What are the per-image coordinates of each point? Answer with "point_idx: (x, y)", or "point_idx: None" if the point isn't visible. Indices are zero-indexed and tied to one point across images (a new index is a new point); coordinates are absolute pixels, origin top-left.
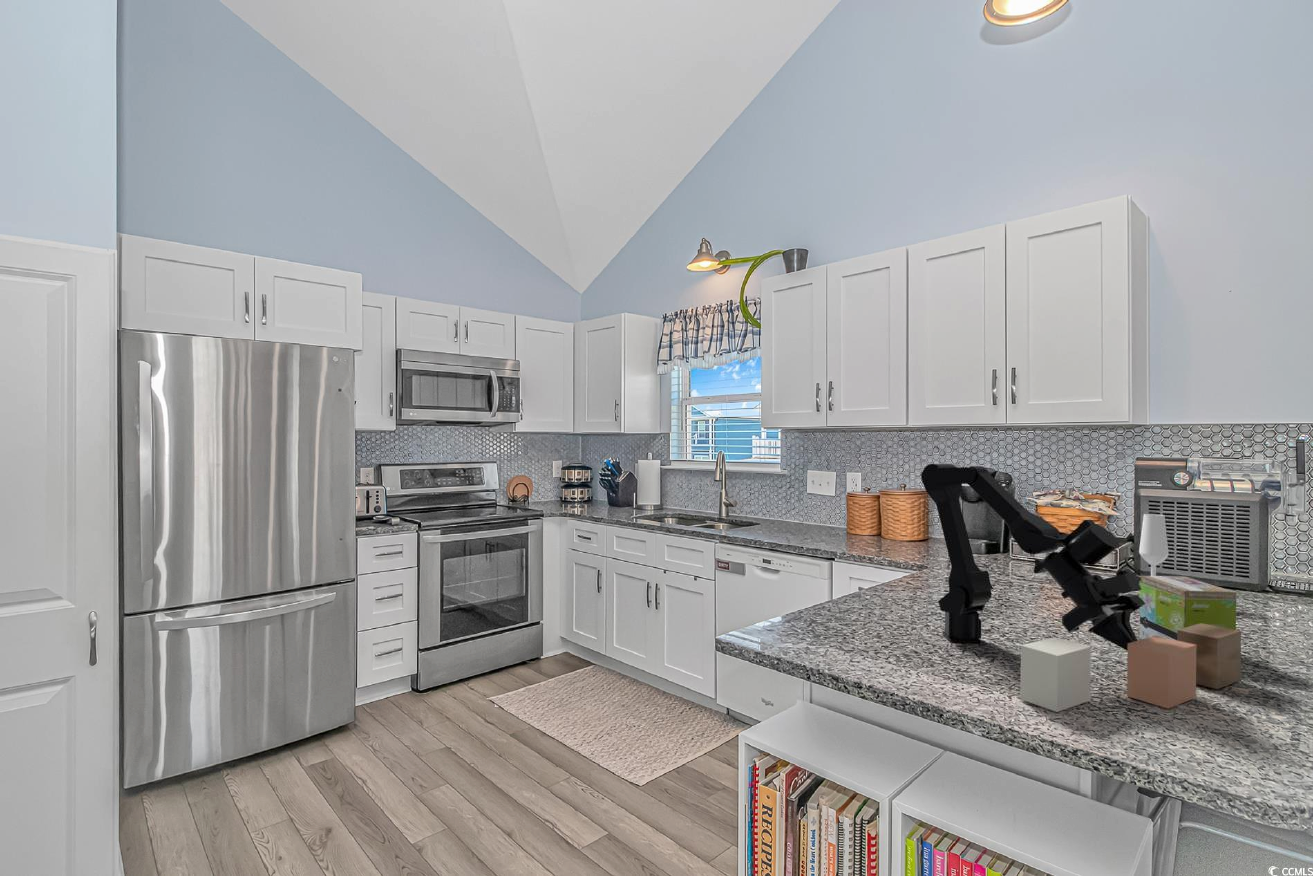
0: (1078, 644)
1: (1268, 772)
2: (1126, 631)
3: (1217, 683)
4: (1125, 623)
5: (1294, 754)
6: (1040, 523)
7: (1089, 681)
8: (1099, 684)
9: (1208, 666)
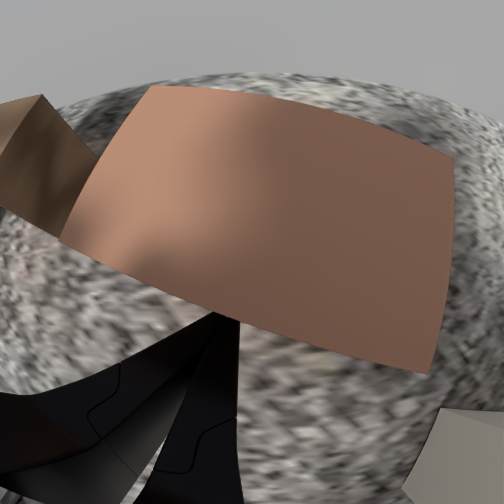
0: None
1: (491, 136)
2: (189, 427)
3: None
4: (94, 443)
5: (407, 94)
6: None
7: (474, 418)
8: (254, 429)
9: (77, 161)
